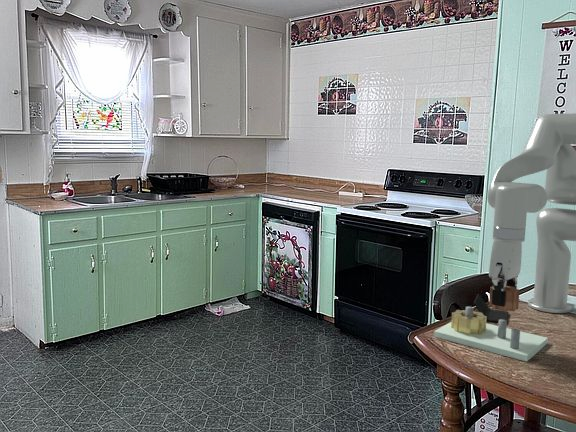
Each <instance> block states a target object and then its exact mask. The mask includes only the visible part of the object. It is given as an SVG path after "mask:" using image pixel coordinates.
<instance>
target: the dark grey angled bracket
mask: <svg viewBox="0 0 576 432" xmlns="http://www.w3.org/2000/svg"><path fill="white" fill-rule="evenodd" d="M473 304H474V306H475V308H476V309H477V312H481V313H483V315H484V316H487V320H486V323H490V322H491V323H490V324H497V323H499V320H500V319H503V320H506V321H507V322H508V317H509V312H510V311H506V312H505V311H502V310H497V309H496V310H495V309H492V308H490V306H489V305H488V304H487V303H486V302H485V300H484V298H483V297H482V295H481V294H480V293H477V294H476V296H475V299H474V301H473Z"/></svg>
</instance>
